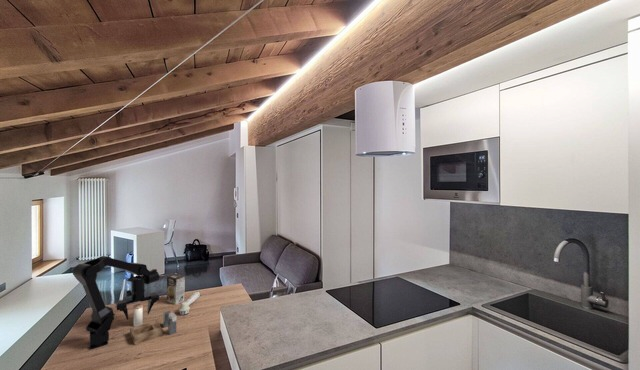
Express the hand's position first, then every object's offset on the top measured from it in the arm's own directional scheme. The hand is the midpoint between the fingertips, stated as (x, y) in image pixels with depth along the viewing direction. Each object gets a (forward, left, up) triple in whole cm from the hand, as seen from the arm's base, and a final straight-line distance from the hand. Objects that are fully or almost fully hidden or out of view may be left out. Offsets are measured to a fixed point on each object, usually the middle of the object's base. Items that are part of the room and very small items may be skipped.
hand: (137, 316), depth 146 cm
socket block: (+1, -14, -4) cm, 15 cm away
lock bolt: (+11, -21, +3) cm, 24 cm away
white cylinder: (0, 0, -4) cm, 4 cm away
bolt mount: (+11, -16, -4) cm, 20 cm away
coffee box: (+23, +17, -4) cm, 29 cm away
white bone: (+28, +5, -5) cm, 29 cm away
